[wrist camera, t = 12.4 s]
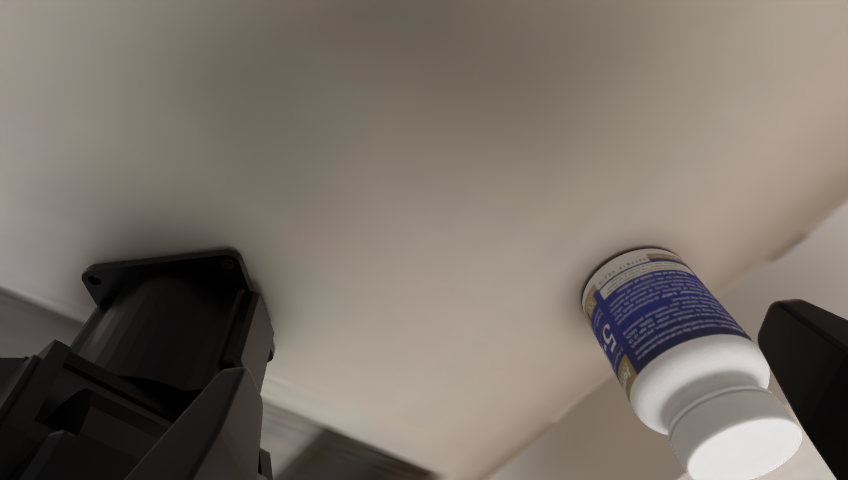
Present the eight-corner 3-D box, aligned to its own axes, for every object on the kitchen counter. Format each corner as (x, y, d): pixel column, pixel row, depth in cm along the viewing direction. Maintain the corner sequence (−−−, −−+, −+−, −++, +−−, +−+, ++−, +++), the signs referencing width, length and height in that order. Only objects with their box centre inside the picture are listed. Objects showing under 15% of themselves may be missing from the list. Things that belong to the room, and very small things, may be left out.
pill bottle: (560, 286, 24) (643, 455, 17) (660, 225, 22) (800, 381, 15) (609, 344, 26) (700, 512, 19) (701, 292, 25) (839, 453, 18)
